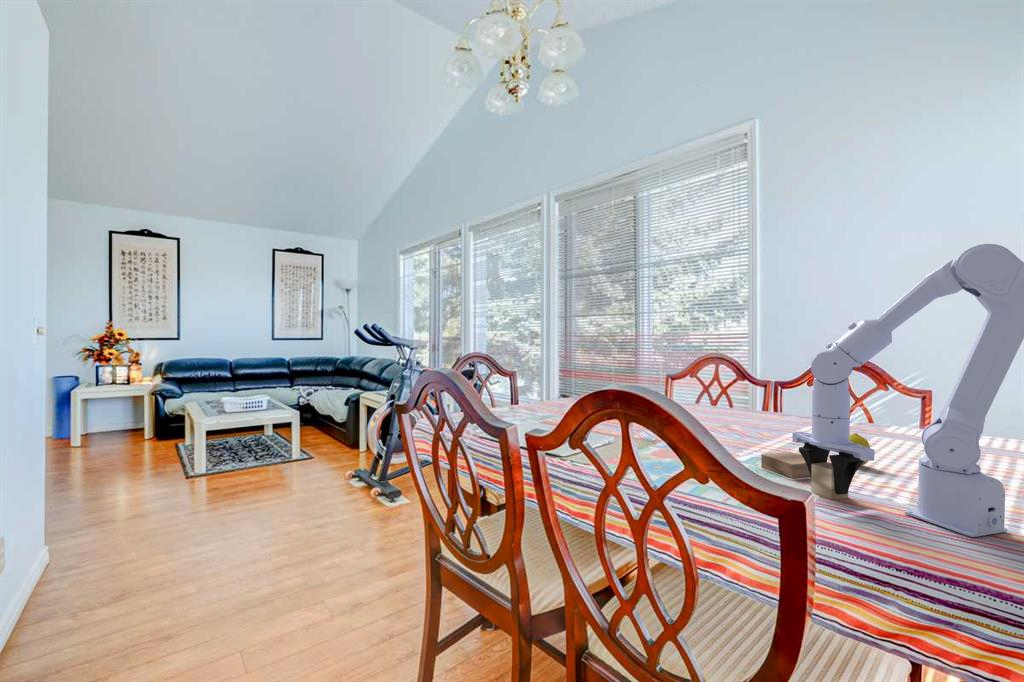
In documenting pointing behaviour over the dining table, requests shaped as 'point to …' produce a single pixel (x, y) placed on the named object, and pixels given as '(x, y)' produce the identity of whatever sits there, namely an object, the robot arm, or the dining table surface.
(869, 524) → the dining table surface
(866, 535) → the dining table surface
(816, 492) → the maple pillar
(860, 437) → the lemon
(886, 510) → the dining table surface
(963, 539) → the dining table surface
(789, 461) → the walnut slab
